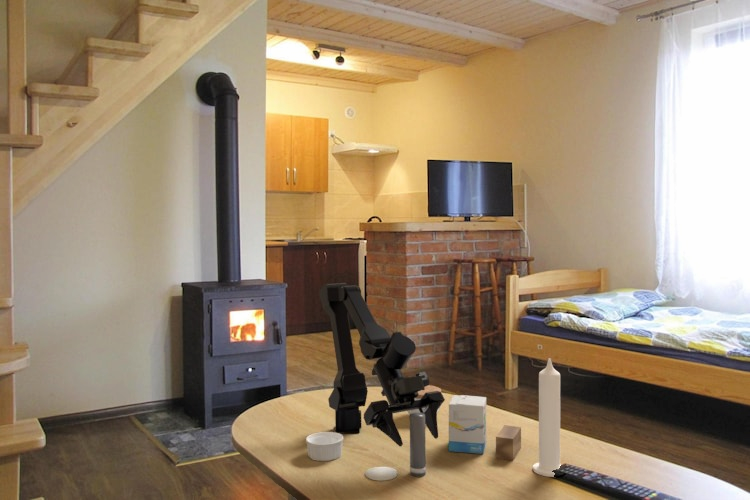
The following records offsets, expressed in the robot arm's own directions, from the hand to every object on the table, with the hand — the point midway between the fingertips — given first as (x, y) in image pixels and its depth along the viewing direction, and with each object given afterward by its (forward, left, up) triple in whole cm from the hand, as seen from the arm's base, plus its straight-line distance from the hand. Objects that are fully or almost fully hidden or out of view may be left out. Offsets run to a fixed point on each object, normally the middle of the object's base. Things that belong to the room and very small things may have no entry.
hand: (419, 441), depth 137 cm
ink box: (+13, +16, -8) cm, 22 cm away
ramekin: (-21, +13, -8) cm, 26 cm away
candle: (+29, +1, -7) cm, 30 cm away
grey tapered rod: (0, +1, -7) cm, 7 cm away
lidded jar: (+5, +41, -8) cm, 42 cm away
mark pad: (-8, +1, -7) cm, 11 cm away
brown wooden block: (+22, +12, -7) cm, 26 cm away
